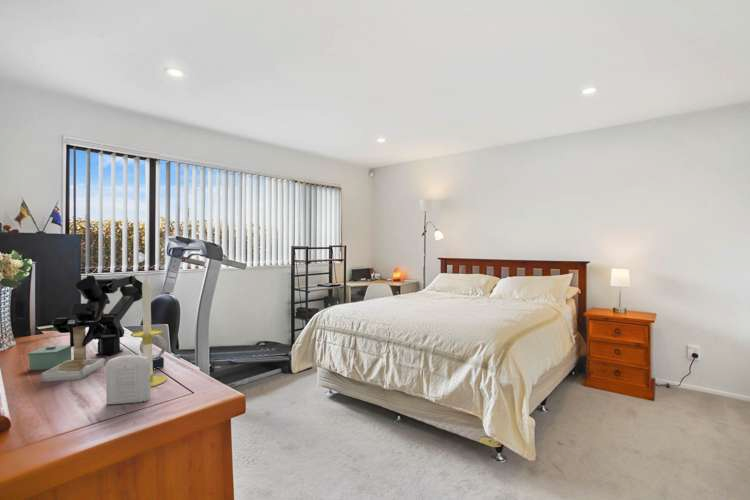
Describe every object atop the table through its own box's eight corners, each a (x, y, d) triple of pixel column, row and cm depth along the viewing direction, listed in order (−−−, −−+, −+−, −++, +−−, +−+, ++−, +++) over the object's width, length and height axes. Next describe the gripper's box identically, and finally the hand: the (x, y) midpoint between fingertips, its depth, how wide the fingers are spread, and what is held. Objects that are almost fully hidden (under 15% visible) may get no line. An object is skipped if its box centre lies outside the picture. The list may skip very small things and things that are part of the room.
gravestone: (153, 396, 103) (152, 351, 103) (147, 402, 99) (146, 356, 99) (111, 399, 101) (110, 354, 100) (103, 406, 96) (102, 359, 96)
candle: (171, 382, 113) (169, 275, 113) (133, 391, 106) (131, 278, 105) (160, 374, 120) (158, 274, 119) (124, 383, 113) (122, 276, 112)
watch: (169, 365, 129) (169, 333, 129) (144, 371, 123) (143, 338, 122) (163, 362, 132) (162, 331, 132) (137, 368, 126) (137, 336, 126)
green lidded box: (72, 360, 135) (72, 342, 135) (57, 368, 126) (56, 349, 126) (45, 362, 133) (45, 344, 133) (28, 370, 125) (27, 351, 125)
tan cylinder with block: (74, 363, 126) (73, 326, 126) (91, 362, 127) (90, 325, 127) (59, 371, 118) (58, 332, 118) (76, 370, 119) (76, 331, 119)
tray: (67, 367, 127) (67, 360, 127) (104, 365, 129) (104, 358, 129) (41, 381, 114) (40, 373, 114) (82, 378, 117) (81, 371, 116)
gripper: (54, 294, 127) (32, 334, 116) (115, 292, 130) (98, 331, 119) (69, 313, 135) (49, 352, 124) (126, 311, 138) (111, 349, 127)
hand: (77, 346), depth 124 cm, fingers closed on tan cylinder with block, 3 cm apart
